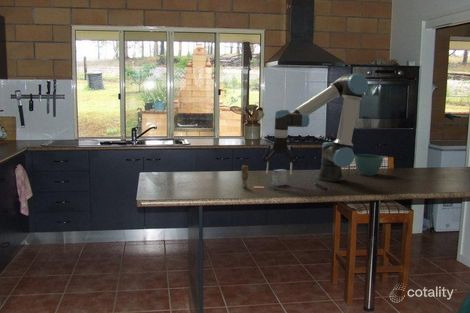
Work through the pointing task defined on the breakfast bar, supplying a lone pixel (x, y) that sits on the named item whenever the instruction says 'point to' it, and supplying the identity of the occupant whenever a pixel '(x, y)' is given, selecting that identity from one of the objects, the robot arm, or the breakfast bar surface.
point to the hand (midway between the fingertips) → (278, 173)
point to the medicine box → (279, 177)
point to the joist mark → (258, 187)
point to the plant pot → (368, 164)
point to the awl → (244, 175)
